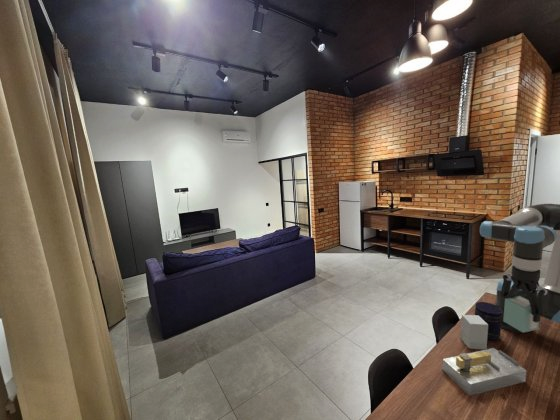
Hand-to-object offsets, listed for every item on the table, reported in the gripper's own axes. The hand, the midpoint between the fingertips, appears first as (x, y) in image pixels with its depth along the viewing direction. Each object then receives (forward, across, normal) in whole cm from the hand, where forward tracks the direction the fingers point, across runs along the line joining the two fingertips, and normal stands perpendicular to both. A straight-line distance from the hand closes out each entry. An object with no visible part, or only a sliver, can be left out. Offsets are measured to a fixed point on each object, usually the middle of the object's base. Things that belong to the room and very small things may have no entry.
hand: (520, 321), depth 93 cm
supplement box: (+22, +15, +4) cm, 27 cm away
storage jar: (+22, +18, -7) cm, 30 cm away
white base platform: (+21, 0, +16) cm, 26 cm away
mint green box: (+2, 0, 0) cm, 2 cm away
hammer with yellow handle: (+16, 0, +21) cm, 26 cm away
